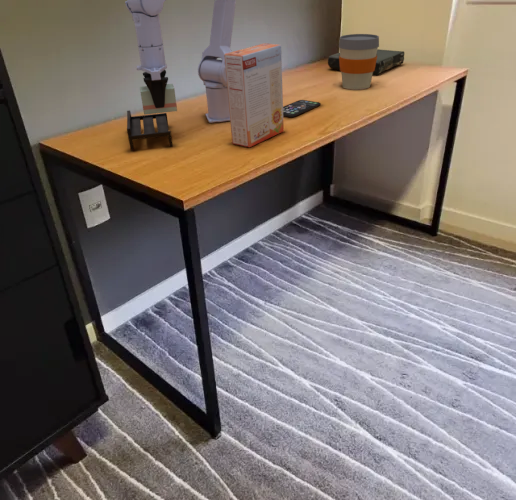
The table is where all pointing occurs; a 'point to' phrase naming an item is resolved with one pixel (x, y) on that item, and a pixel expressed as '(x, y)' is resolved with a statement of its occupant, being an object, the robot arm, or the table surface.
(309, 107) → the smartphone
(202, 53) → the robot arm
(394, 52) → the network switch
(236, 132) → the cracker box
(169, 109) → the tissue box
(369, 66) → the reusable coffee cup
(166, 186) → the table surface
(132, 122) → the rack
